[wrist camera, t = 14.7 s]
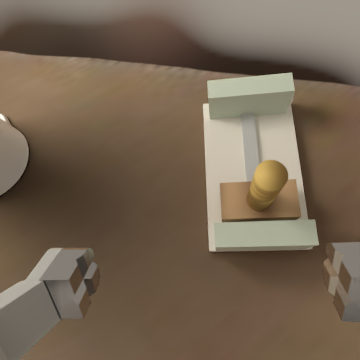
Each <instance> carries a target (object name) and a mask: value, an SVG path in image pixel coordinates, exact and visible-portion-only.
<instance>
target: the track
mask: <svg viewBox="0 0 360 360" xmlns="http://www.w3.org/2000/svg"><path fill="white" fill-rule="evenodd" d="M207 84H208V104H203V114H204V139H205V163H206V187H207V212H208V236H209V252H225V251H275V250H310V249H313V248H312V247H314V246H317V245H319V242H318V235H317V229H316V222H315V219H313V220H308V215H307V208H306V201H305V195H304V188H303V181H302V175H301V168H300V161H299V155H298V148H297V141H296V135H295V128H294V121H293V115H292V108H291V103H292V102H293V99H294V91H295V89H294V83H293V77H292V73H283V74H274V75H262V76H252V77H242V78H232V79H221V80H211V81H207ZM266 160H276V161H278V162H280V163H282V164H283V165H284V166H285V167H286V169H287V171H288V179H296V183H297V190H298V197H299V204H300V211H301V217H300V218H298V219H297V220H283V221H253V222H222V217H221V199H220V183H229V182H249V181H252V179H253V176H254V173H255V170H256V168H257V166H258V165H259V164H260V163H262V162H263V161H266Z"/></svg>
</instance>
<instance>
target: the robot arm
mask: <svg viewBox="0 0 360 360" xmlns="http://www.w3.org/2000/svg"><path fill="white" fill-rule="evenodd" d="M28 156H29V148H28V143H27V141H26V139H25V137H24V135H23V134H22V133H21V132H20V131H19V130H17V129H15V128H14V127H13V126H11V124H10V122H9V120H8V119H7V117H6V116H4V115H2V114H0V195H2V194H3V193H5V192H6V191H7V190H9V189H10V188H11V187H12V186H13V185H14V184H15V183H16V182H17V181H18V180H19V178H20V177H21V175H22V174H23V172H24V170H25V168H26V165H27V162H28ZM325 253H326V255H327V257H328V258H327V259H326V260H325V261H324V262H323V269H322V271H323V279H324V283H325V286H326V288H327V290H328V292H330V293H331V294H332V295H334V301H333V303H334V306H335V308H336V310H337V312H338V314H339V316H340V318H341V321H343V322H360V241H352V242H328V243H327V245H326V248H325ZM94 257H95V256H94V253H93V250H92V249H91V248H51V249H49V250H47V252H46V253H45V254H44V256H43V257H42V258H41V260H40V261H39V262H38V264H37V265H36V266H35V268H34V269H33V270H32V272H31V273H30V274H29V276H28V277H27V278H26V280H25V281H20V282H18V283H16V284H15V285H13V286H12V287H10V288H8V289H7V290H5V291H4V292H2V293H0V360H20V359H21V358H22V357H23V356H24V355H25V354H26V353H27V352H28V351H29V350H30V349H31V348H32V347H33V346H34V345H35V344H37V343H38V342H39V341H40V340H41V339H42V338H43V337H44V336H45V335H46V334H47V333H48V332H49V331H50V330H51V329H52V328H53V327H54V326H55V325H56V324H57V323H58V322H59V321H60V319H84V317H85V315H86V313H87V310H88V308H89V306H90V304H91V300H90V296H91V295H92V294H94V293H95V292H96V290H97V287H98V285H99V278H100V274H99V268H98V265H96V264H95V263H94V262H93V259H94Z"/></svg>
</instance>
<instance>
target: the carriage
mask: <svg viewBox="0 0 360 360" xmlns="http://www.w3.org/2000/svg"><path fill="white" fill-rule="evenodd" d="M220 199H221V217H222V222H253V221H283V220H297V219H298V218H300V217H301V211H300V204H299V197H298V190H297V183H296V179H288V171H287V169H286V167H285V166H284V165H283V164H282V163H280V162H278V161H276V160H266V161H263V162H262V163H260V164H259V165H258V166H257V168H256V170H255V173H254V176H253V179H252V181H249V182H229V183H220Z"/></svg>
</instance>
